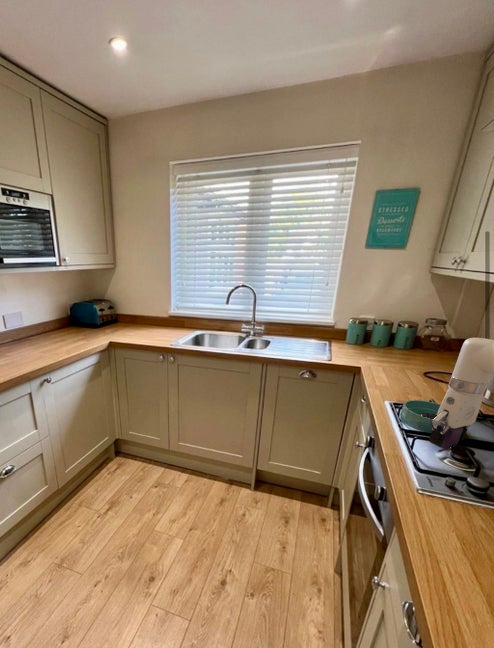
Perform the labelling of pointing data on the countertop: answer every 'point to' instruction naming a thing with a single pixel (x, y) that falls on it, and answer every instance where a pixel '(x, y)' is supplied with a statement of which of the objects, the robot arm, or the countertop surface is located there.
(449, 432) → the snack carton
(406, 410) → the bowl
